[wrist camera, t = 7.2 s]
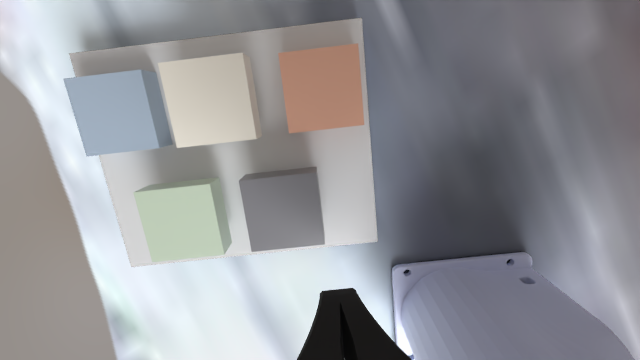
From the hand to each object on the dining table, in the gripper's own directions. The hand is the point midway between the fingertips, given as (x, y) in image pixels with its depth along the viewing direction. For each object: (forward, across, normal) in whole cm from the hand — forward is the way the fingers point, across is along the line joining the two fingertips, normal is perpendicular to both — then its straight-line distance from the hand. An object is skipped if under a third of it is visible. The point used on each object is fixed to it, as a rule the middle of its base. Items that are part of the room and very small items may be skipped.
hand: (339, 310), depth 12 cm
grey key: (+6, +2, -2) cm, 7 cm away
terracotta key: (+7, 0, -9) cm, 11 cm away
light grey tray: (+9, +5, -5) cm, 12 cm away
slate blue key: (+8, +11, -8) cm, 16 cm away
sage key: (+6, +8, -2) cm, 10 cm away
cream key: (+6, +5, -8) cm, 12 cm away
